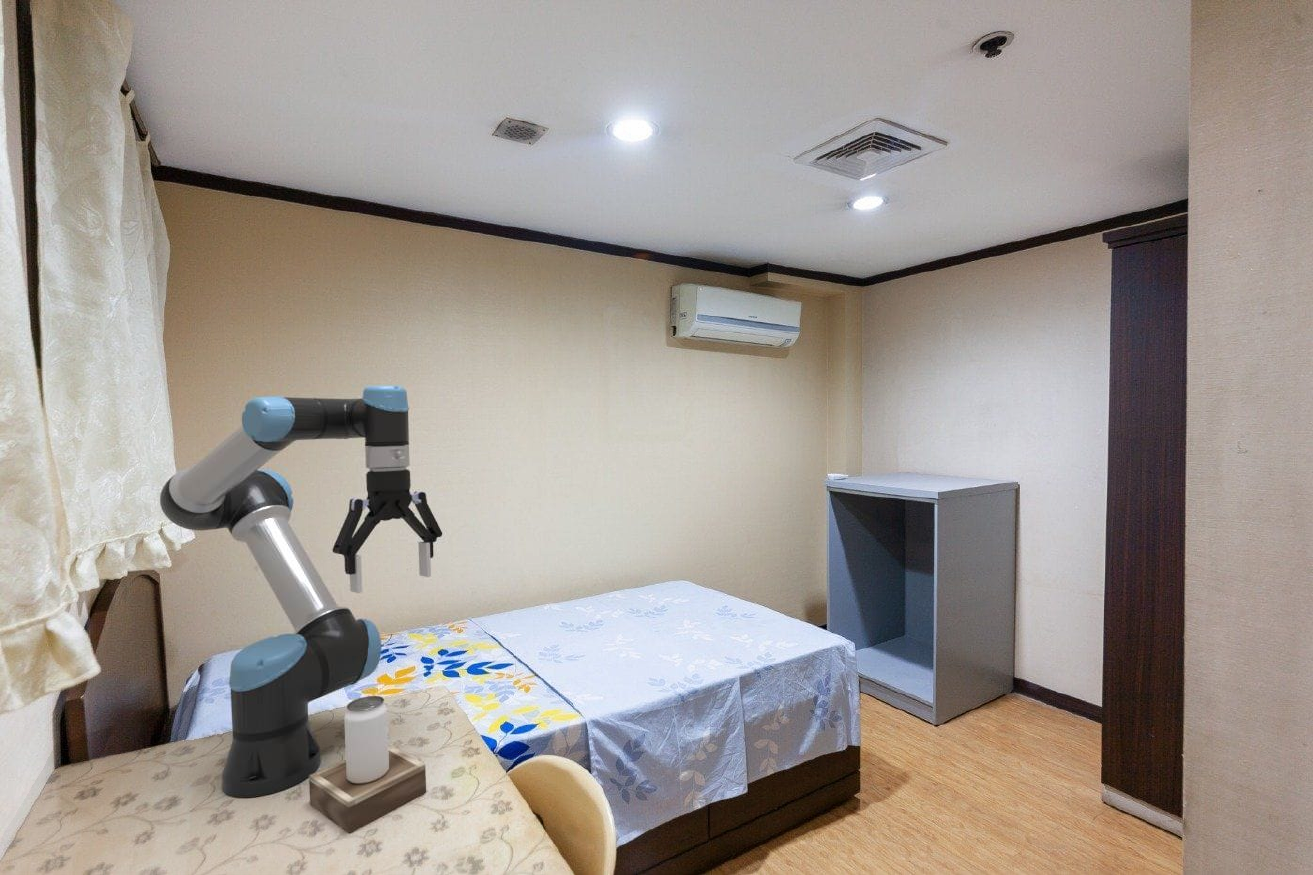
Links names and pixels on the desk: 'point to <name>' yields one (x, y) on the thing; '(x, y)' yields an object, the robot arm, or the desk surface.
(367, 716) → the can
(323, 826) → the desk surface
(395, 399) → the robot arm
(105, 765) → the desk surface
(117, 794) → the desk surface
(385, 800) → the wooden tray
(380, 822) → the desk surface
